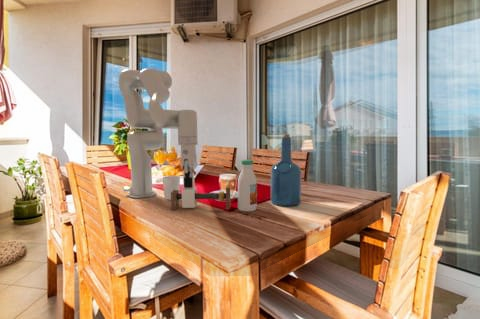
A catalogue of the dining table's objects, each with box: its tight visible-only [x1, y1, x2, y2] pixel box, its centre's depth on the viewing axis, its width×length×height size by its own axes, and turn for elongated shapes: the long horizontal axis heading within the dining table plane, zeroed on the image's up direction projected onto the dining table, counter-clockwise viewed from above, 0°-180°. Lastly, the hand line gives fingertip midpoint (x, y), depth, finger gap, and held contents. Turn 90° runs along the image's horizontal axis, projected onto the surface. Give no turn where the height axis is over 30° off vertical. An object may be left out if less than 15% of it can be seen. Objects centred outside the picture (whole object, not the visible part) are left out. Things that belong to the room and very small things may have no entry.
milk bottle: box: [237, 159, 258, 213], centre depth 107 cm, size 8×8×20 cm
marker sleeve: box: [181, 172, 198, 209], centre depth 110 cm, size 5×5×13 cm
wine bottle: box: [270, 133, 303, 207], centre depth 116 cm, size 14×13×30 cm
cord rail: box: [170, 184, 231, 211], centre depth 110 cm, size 24×5×9 cm, turn 90°
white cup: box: [162, 175, 181, 201], centre depth 127 cm, size 8×8×10 cm
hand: (189, 186), depth 109 cm, fingers closed on marker sleeve, 2 cm apart
